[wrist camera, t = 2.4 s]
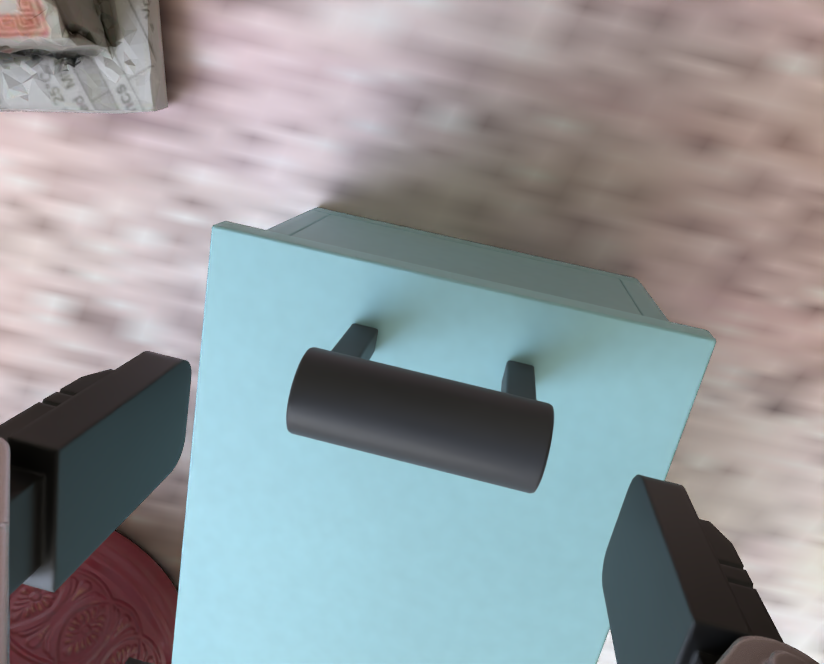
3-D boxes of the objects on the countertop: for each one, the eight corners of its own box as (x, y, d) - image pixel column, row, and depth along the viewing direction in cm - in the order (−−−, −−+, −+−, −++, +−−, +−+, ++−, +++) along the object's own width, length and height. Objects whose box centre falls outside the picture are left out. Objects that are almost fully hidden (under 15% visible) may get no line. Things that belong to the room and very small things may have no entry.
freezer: (315, 206, 26) (222, 248, 18) (637, 277, 25) (697, 358, 17) (268, 535, 31) (178, 687, 23) (533, 605, 30) (540, 791, 22)
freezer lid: (223, 219, 17) (103, 262, 12) (709, 329, 16) (795, 425, 11) (177, 688, 23) (80, 852, 18) (540, 792, 22) (547, 998, 17)
